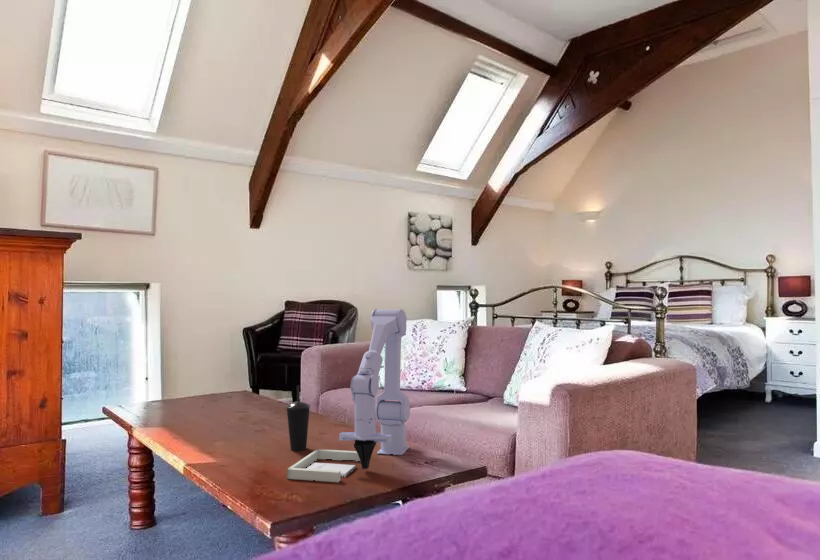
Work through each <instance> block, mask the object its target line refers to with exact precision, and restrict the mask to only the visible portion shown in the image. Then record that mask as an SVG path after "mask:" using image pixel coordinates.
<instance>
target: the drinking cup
mask: <svg viewBox="0 0 820 560" xmlns="http://www.w3.org/2000/svg"><path fill="white" fill-rule="evenodd" d="M310 408H311V404H310V403H307V402H305V401H300V385H299V384H297V385H296V401H294V402H291V403H288V404H287V405H285V409H286V414H287V424H288V435H289V446H290V450H291V451H293V452H301V451H305V450H307V445H308V432H309V431H308V430H309V419H310Z"/></svg>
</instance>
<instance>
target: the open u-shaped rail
mask: <svg viewBox="0 0 820 560" xmlns="http://www.w3.org/2000/svg"><path fill="white" fill-rule="evenodd" d="M317 459H318V460H326V459H332V460H331V461H342V460H356V461H355V462H358V461H360V458H359V456H358V453H357V451H356V450H338V449H323V448H321V449H320V448H317V449H314V451H312V452H311V453H309V454H308V455H306V456H305V457H303V458H302V459H300V460H299V461H297V462H296V463H294V464H293V465H291V466H289V467H288V468H287V469H286V479H288V480H298V481H299V480H302V481H313V480H315V482H329V483H330V482H331V483H340V482H341V478H342V477H341V471H334V470H319V469H306V467H309V466H310V464H311V465H312V464H313V463H315V462H316V461H318V460H317ZM314 461H315V462H314ZM339 481H340V482H339Z"/></svg>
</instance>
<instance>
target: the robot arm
mask: <svg viewBox="0 0 820 560" xmlns="http://www.w3.org/2000/svg"><path fill="white" fill-rule="evenodd" d="M369 319H370V327H371V329H372V330H371V331H372V335H371V338H370V343H369V348H368V350H367V351H366V352H364V353H363V356H362V359H361V362H360V365H359V368H358V371H357V374H355V375H354V376H353V377H352V378H351V380H350V392H351V395H352V402H354V431H351V432H350V431H347V432H346V431H345V432H344V431H343V432H340V433H339V434H338V435H339V437H338V440H339V441H340V442H342V441H349V442H350V441H351V442H353V441H354V443H353V448H354V449H355V451H357V453H358V456H359V458H360V465H361V469H362V470H367V469H369V467H370V463H371V458H372V454H373V452H374V449H375V447H376V445H377V443H380V449H379V450H377V451H376V454H378V455H390V454H393V455H395V456H402V455H404V454H405V453H406V452H407V450H409V448H410V445H407V426H406V424H405V423H406V422H408V420H409V418H410V414H411V407H410V402H409V401H410V400H409V397H408V396H407V395H406V393H404V392H403V391H402V390H401V365H402V363H401V359H402V358H401V357H402V338H403V337H404V336H406V335H407V320H408V319H407V315H406V312H405V310H404V309H402V308H399V309H377V308H374V309H373V310H372V311H371V314H370V318H369ZM384 347H385V348H384ZM383 349H385V350H384V357H382V355H381V354H382V352H383ZM383 361H384V381H383V382H384V383H383V384H384V388H383V391H382V392H381V393H380V394H378V392H379V386H380V376H379V375H380V371H381V368H382V365H383ZM377 394H378V395H377ZM376 395H377V396H376ZM376 420H377V421H378V423H379V424H380V432H376Z"/></svg>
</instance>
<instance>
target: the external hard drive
mask: <svg viewBox="0 0 820 560" xmlns="http://www.w3.org/2000/svg"><path fill="white" fill-rule="evenodd" d="M355 468H356V469H357V465H356V464H345V463H342V464H341V463H330V462H329V463H328V462H313V463H312V464H311V465H309V466H308V467H307V468H305V469H319V470H334V471H341V476H342V477H341V478H347V477H348V476H349V475H350V474H351V473H352V472H354V471H355V470H356V469H355ZM354 469H355V470H354ZM353 470H354V471H353ZM350 472H351V473H350ZM349 473H350V474H349ZM348 474H349V475H348ZM347 475H348V476H347ZM343 476H344V477H343ZM346 476H347V477H346Z"/></svg>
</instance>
